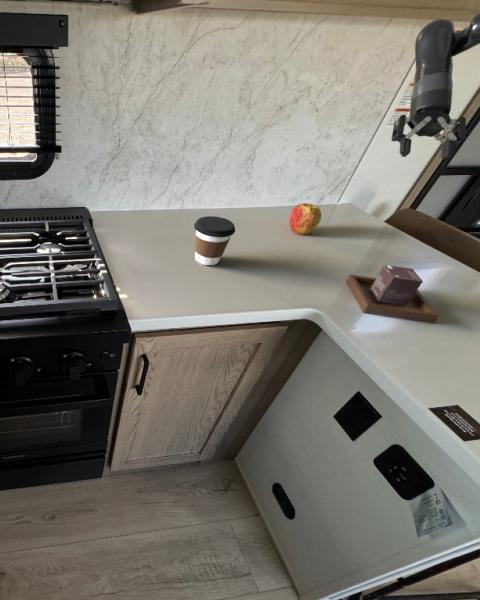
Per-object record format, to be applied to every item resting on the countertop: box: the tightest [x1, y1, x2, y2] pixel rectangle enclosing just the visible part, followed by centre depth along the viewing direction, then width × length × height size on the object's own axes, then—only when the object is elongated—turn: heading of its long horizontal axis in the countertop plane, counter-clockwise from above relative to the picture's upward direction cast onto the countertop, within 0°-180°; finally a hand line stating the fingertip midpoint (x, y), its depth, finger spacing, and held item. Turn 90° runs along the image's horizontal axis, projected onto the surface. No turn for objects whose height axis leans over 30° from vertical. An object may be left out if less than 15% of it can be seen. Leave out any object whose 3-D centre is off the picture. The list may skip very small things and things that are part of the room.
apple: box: [288, 202, 322, 236], centre depth 114 cm, size 9×9×10 cm
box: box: [370, 264, 424, 306], centre depth 83 cm, size 6×6×7 cm
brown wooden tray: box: [345, 274, 440, 324], centre depth 85 cm, size 14×14×2 cm
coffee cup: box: [193, 215, 236, 266], centre depth 99 cm, size 11×11×12 cm
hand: (425, 156), depth 87 cm, fingers open, 8 cm apart
